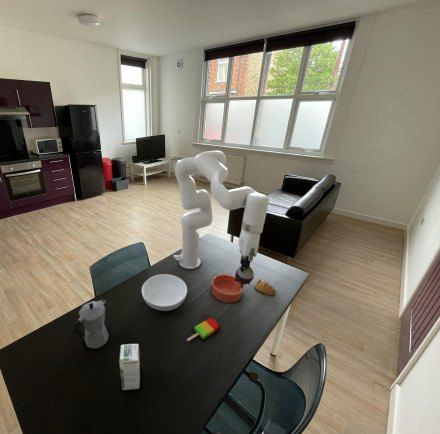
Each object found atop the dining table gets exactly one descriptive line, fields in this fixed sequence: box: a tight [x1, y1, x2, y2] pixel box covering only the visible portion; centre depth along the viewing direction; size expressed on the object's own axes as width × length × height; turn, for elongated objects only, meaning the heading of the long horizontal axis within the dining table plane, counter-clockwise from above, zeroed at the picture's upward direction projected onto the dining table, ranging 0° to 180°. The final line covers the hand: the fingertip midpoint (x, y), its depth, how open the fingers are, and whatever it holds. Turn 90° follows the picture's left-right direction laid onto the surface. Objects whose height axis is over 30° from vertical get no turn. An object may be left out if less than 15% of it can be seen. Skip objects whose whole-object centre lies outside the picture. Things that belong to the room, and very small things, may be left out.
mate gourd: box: [234, 249, 255, 289], centre depth 97 cm, size 8×8×15 cm
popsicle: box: [186, 317, 220, 342], centre depth 96 cm, size 6×15×2 cm, turn 123°
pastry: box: [254, 278, 277, 296], centre depth 117 cm, size 9×7×4 cm
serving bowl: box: [141, 273, 188, 312], centre depth 111 cm, size 21×21×7 cm
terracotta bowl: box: [210, 273, 244, 304], centre depth 116 cm, size 15×15×5 cm
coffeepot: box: [71, 299, 110, 349], centre depth 89 cm, size 15×9×18 cm, turn 147°
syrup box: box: [119, 343, 141, 391], centre depth 76 cm, size 6×6×14 cm
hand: (244, 265), depth 98 cm, fingers closed on mate gourd, 1 cm apart
